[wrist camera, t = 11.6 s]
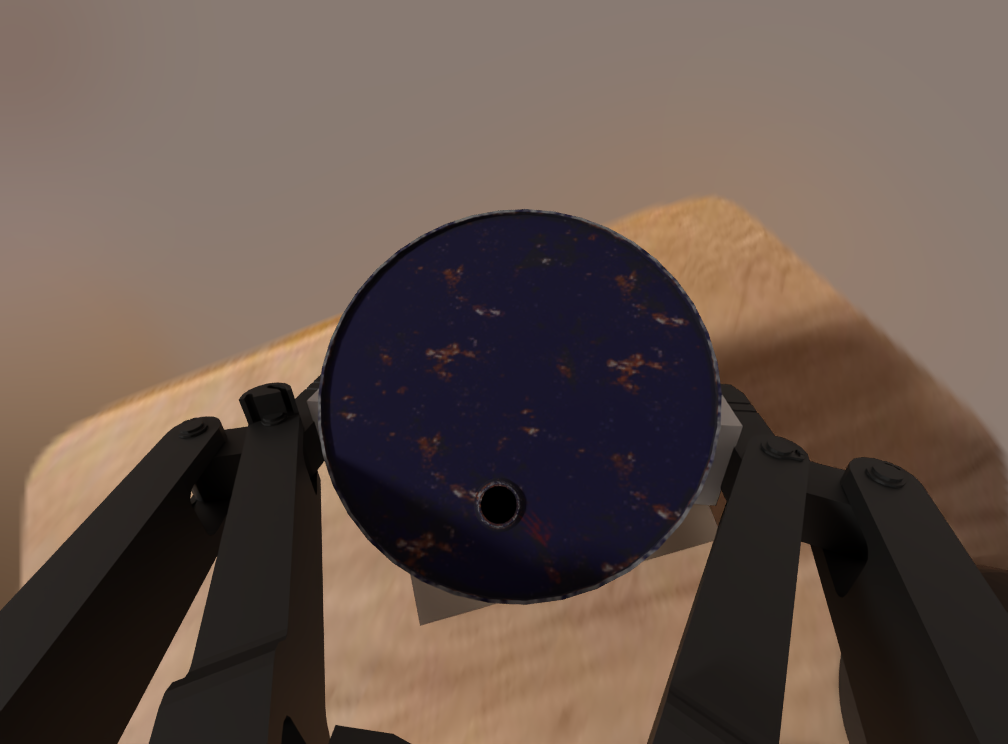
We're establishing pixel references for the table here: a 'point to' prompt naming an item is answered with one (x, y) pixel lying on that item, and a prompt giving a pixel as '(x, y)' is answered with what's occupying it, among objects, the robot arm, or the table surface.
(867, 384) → the table surface
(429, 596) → the walnut serving board
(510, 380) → the navy cylinder
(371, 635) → the table surface
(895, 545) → the robot arm
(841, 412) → the table surface
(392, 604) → the table surface
